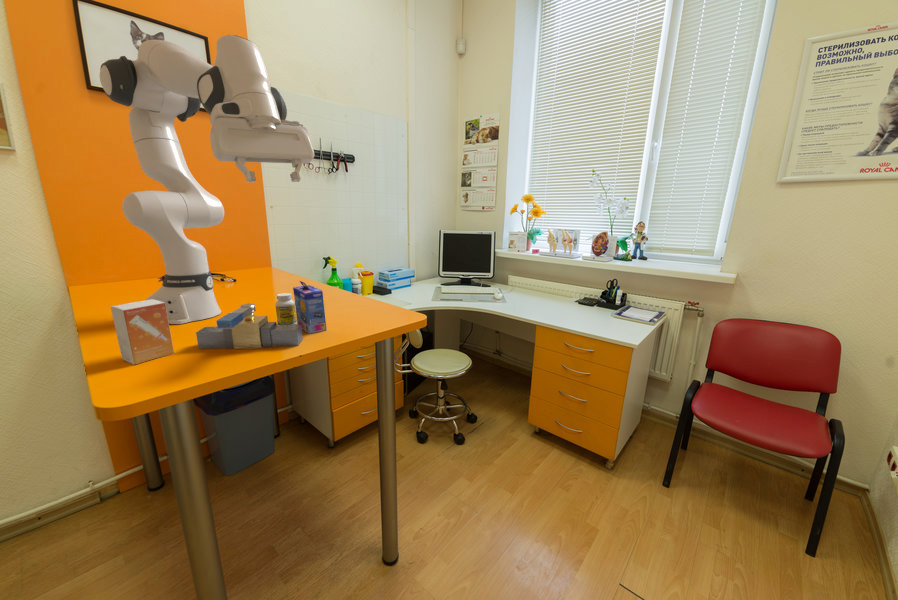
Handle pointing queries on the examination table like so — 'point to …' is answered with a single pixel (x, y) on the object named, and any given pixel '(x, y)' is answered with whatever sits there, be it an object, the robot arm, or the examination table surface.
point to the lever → (235, 316)
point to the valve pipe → (250, 335)
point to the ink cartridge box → (310, 308)
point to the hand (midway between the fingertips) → (275, 181)
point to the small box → (142, 330)
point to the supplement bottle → (285, 309)
